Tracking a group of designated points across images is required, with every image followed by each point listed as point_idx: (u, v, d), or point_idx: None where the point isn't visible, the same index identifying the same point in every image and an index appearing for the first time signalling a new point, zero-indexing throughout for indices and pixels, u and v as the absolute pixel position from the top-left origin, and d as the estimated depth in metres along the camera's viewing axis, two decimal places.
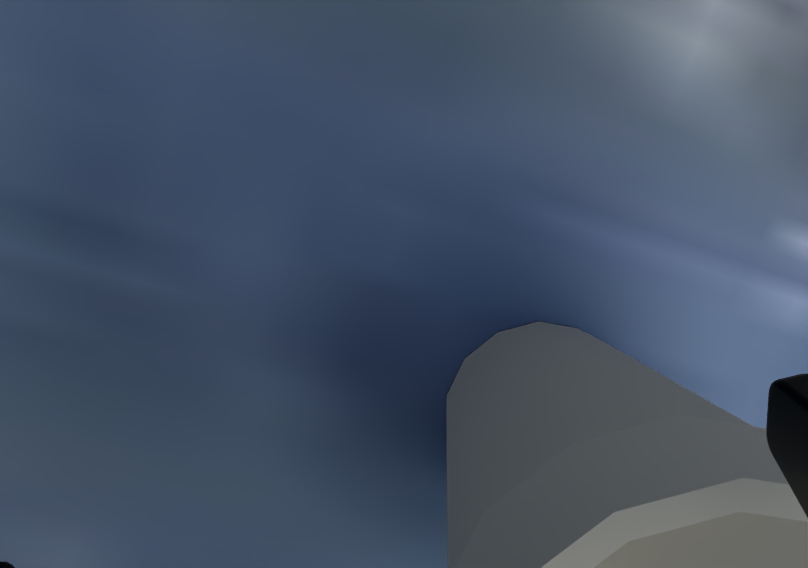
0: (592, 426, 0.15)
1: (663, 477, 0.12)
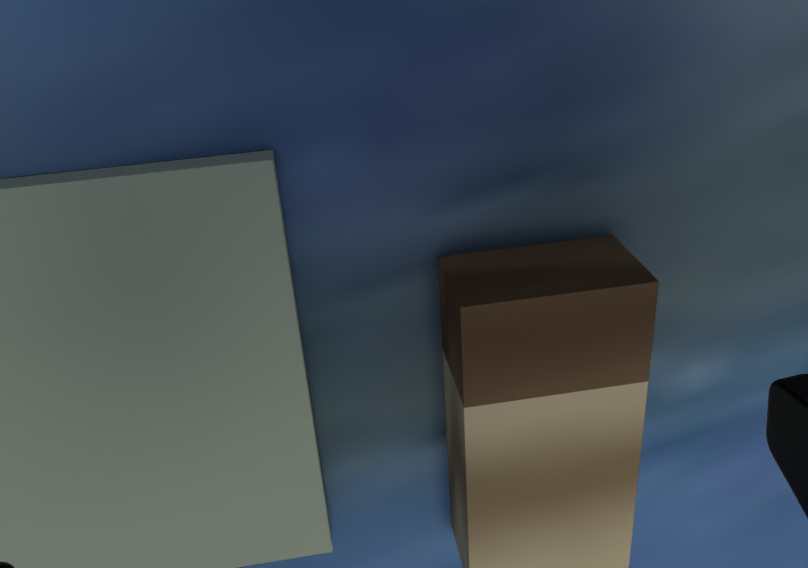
0: None
1: None
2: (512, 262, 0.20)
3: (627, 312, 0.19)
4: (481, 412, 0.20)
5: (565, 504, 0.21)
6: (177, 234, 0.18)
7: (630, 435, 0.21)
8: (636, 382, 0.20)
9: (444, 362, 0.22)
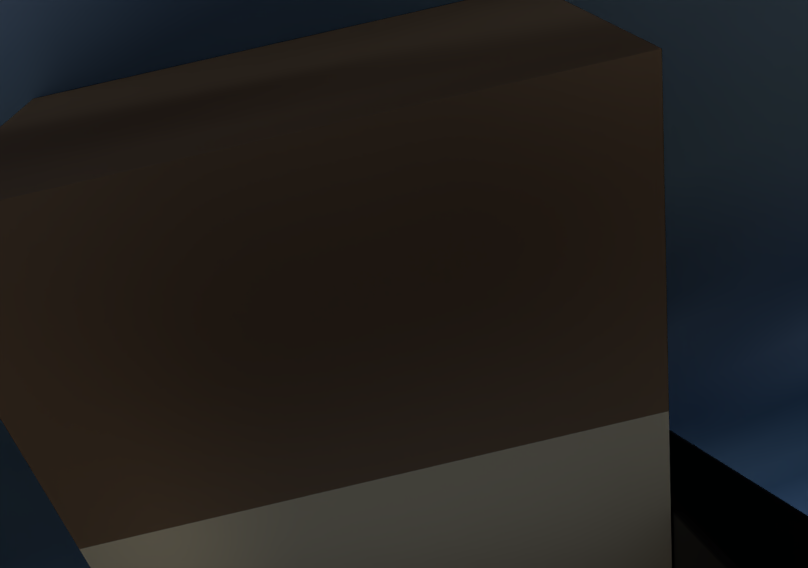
0: None
1: None
2: (207, 80, 0.06)
3: (557, 186, 0.05)
4: (143, 554, 0.06)
5: None
6: None
7: (635, 561, 0.07)
8: (631, 418, 0.06)
9: None
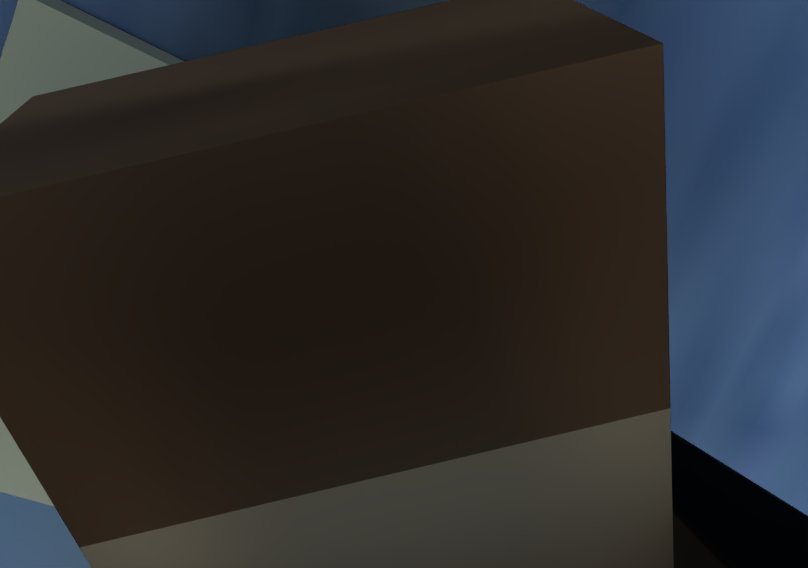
0: None
1: None
2: (207, 77, 0.06)
3: (558, 182, 0.05)
4: (144, 552, 0.06)
5: None
6: None
7: (636, 559, 0.07)
8: (633, 416, 0.06)
9: None
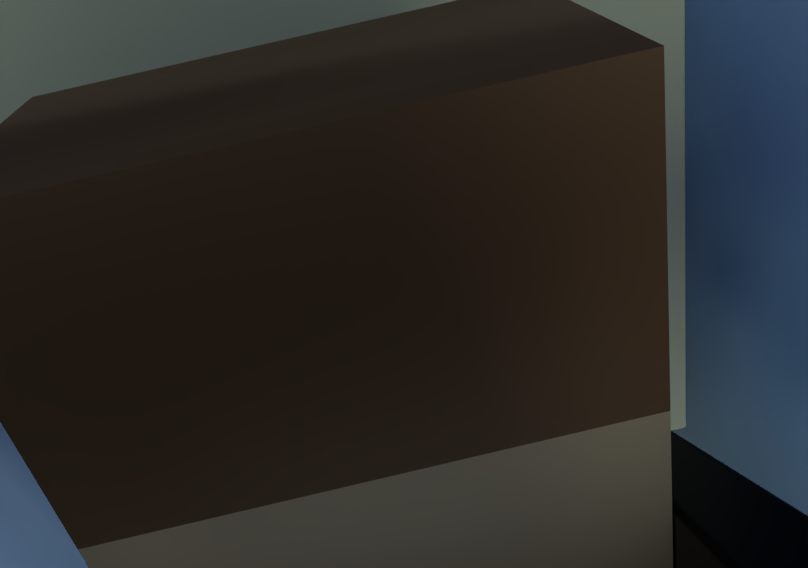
0: None
1: None
2: (206, 79, 0.06)
3: (558, 185, 0.05)
4: (143, 554, 0.06)
5: None
6: (9, 106, 0.12)
7: (636, 561, 0.07)
8: (632, 419, 0.06)
9: None
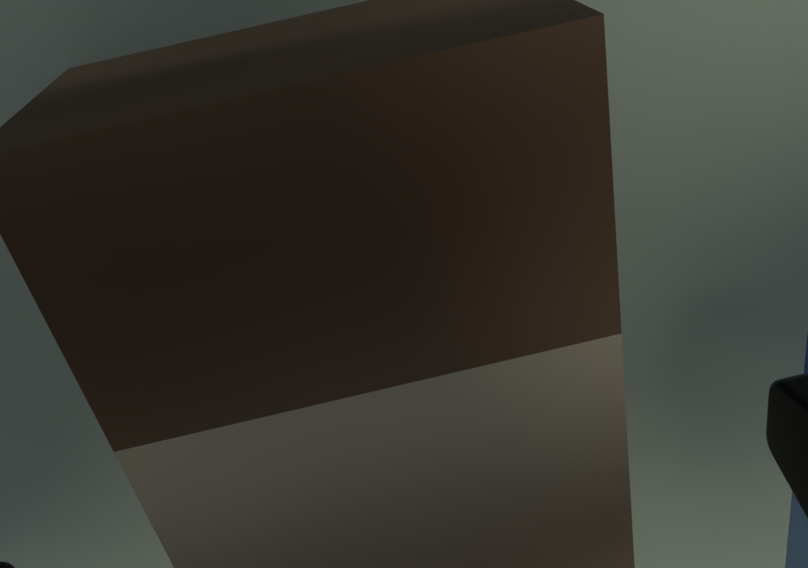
0: None
1: None
2: (223, 50, 0.07)
3: (520, 131, 0.06)
4: (169, 458, 0.07)
5: None
6: None
7: (597, 473, 0.08)
8: (588, 339, 0.07)
9: None
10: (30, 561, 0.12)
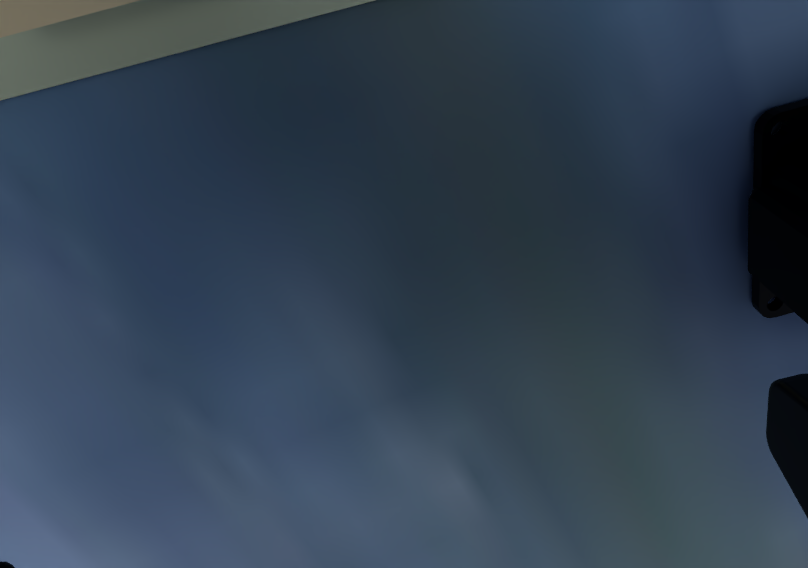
0: None
1: None
2: None
3: None
4: None
5: None
6: None
7: None
8: None
9: None
10: None
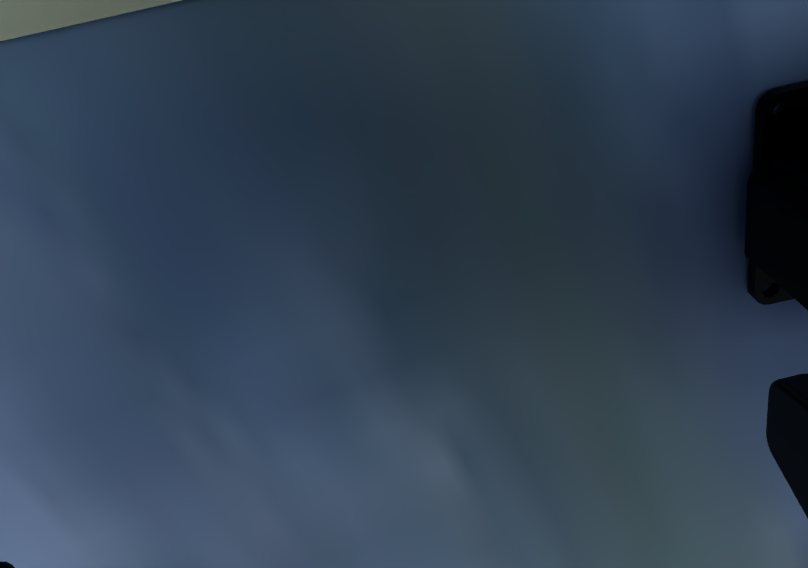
0: None
1: None
2: None
3: None
4: None
5: None
6: None
7: None
8: None
9: None
10: None
